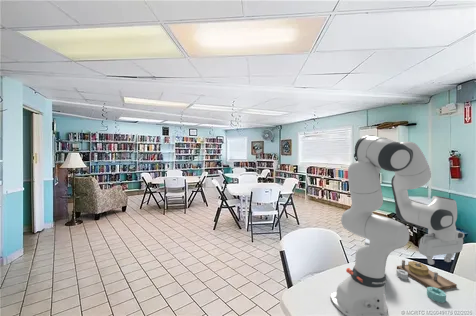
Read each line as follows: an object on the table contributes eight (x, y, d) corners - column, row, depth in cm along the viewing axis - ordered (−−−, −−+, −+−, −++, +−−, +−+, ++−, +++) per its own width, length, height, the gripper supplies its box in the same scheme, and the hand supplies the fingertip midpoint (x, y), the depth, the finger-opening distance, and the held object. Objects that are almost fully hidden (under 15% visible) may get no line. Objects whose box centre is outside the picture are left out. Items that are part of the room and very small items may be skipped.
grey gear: (404, 280, 111) (405, 275, 111) (394, 275, 115) (395, 270, 115) (409, 277, 113) (409, 273, 113) (399, 273, 117) (399, 268, 117)
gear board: (434, 291, 103) (435, 280, 103) (396, 268, 121) (397, 259, 121) (456, 287, 106) (457, 276, 106) (416, 265, 125) (417, 256, 124)
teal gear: (438, 303, 95) (438, 296, 95) (423, 294, 101) (424, 287, 101) (448, 301, 96) (449, 294, 96) (433, 292, 102) (434, 286, 102)
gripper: (430, 237, 91) (428, 269, 92) (467, 233, 96) (465, 263, 97) (415, 231, 98) (413, 261, 99) (450, 227, 102) (448, 256, 103)
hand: (439, 262), depth 98 cm, fingers open, 8 cm apart
